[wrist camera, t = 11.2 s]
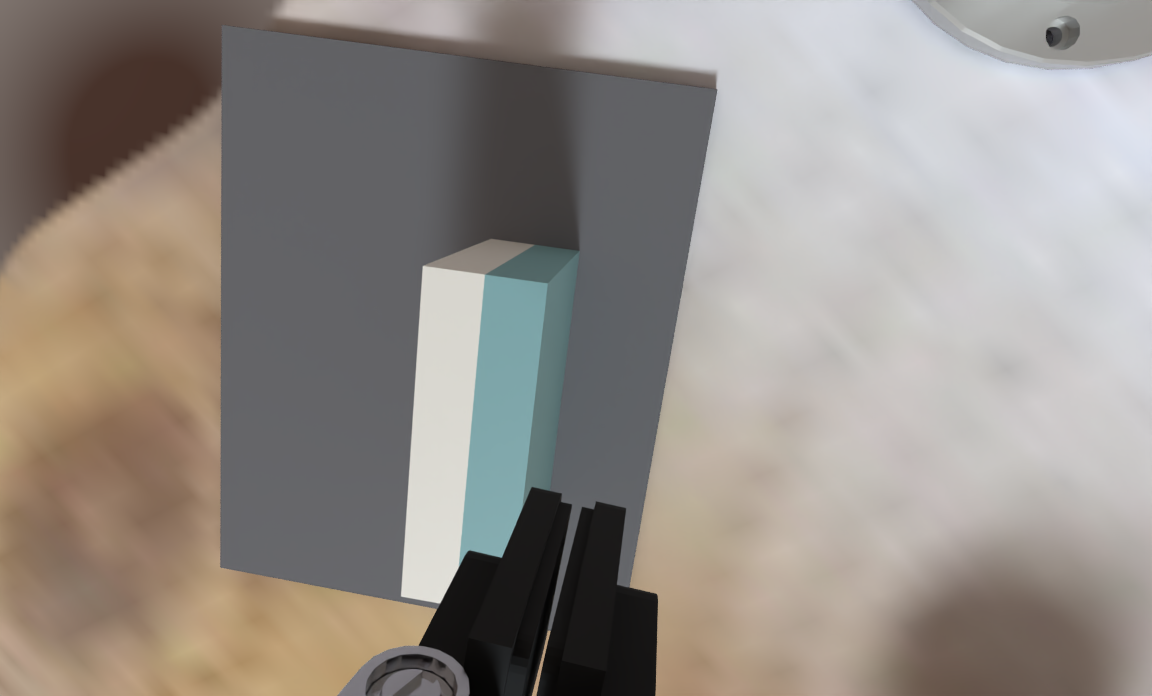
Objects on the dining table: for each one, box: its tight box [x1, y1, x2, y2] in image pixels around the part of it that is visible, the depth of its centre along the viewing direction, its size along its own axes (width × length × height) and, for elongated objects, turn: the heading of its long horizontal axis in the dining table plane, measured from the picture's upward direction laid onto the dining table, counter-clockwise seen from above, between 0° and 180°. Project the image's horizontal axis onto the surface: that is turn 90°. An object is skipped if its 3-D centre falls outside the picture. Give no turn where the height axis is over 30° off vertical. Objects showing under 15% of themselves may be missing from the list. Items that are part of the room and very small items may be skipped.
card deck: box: [401, 239, 580, 603], centre depth 21 cm, size 9×3×7 cm, turn 173°
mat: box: [220, 25, 717, 631], centre depth 25 cm, size 20×16×1 cm
